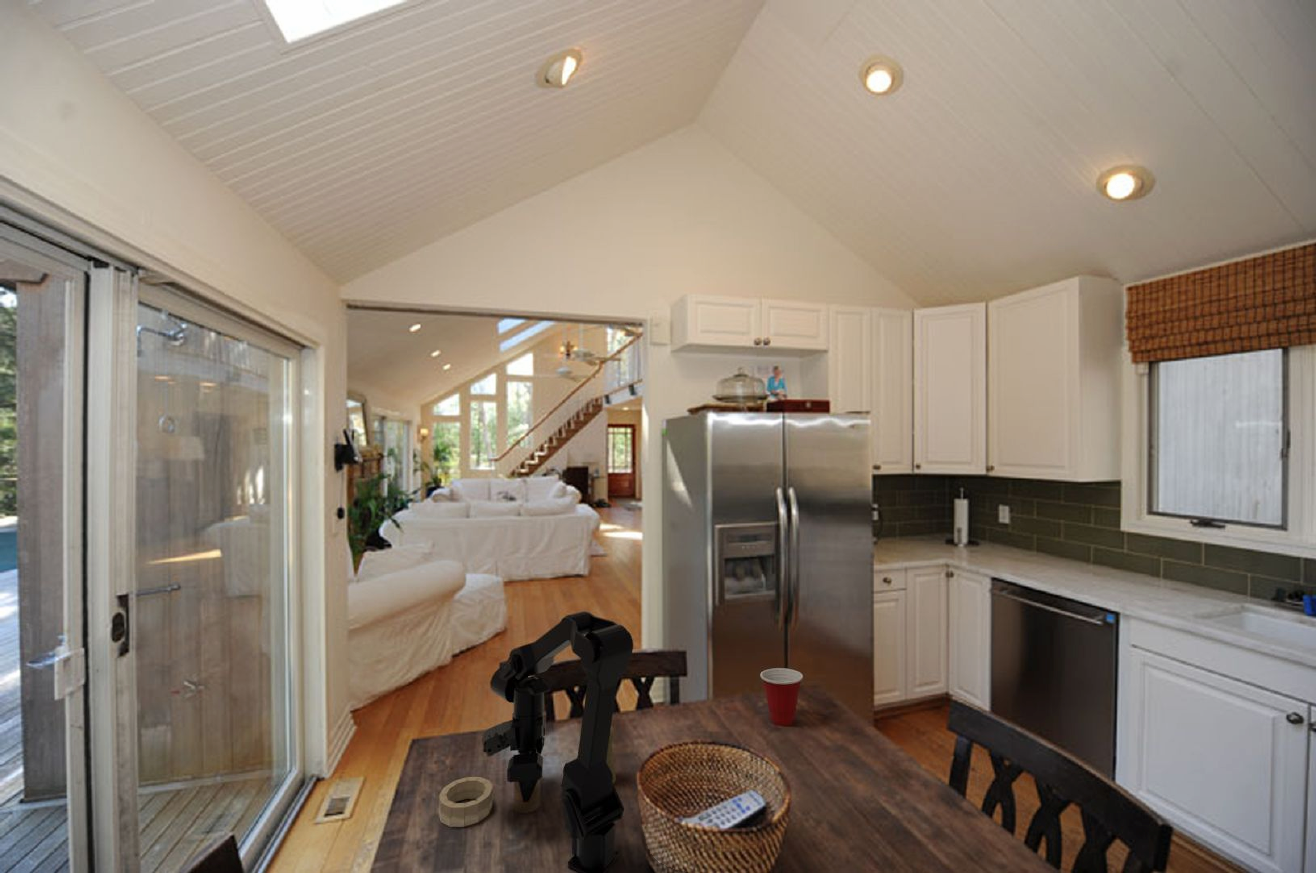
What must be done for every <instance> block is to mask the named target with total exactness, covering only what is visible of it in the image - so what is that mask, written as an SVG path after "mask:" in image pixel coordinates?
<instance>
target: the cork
mask: <svg viewBox="0 0 1316 873" xmlns="http://www.w3.org/2000/svg"><path fill="white" fill-rule="evenodd" d="M615 736H616V735H615V729H614V727H613V726H612V725H611V730H610V738H609V745H608V752H607V763H608V765H609V767H610V769H611V771H612V772H613V784H614V785H615V782H616V779H617V776H616V767H615V758H614V750H613V749H614V748H613V742H614V738H615Z"/></svg>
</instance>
